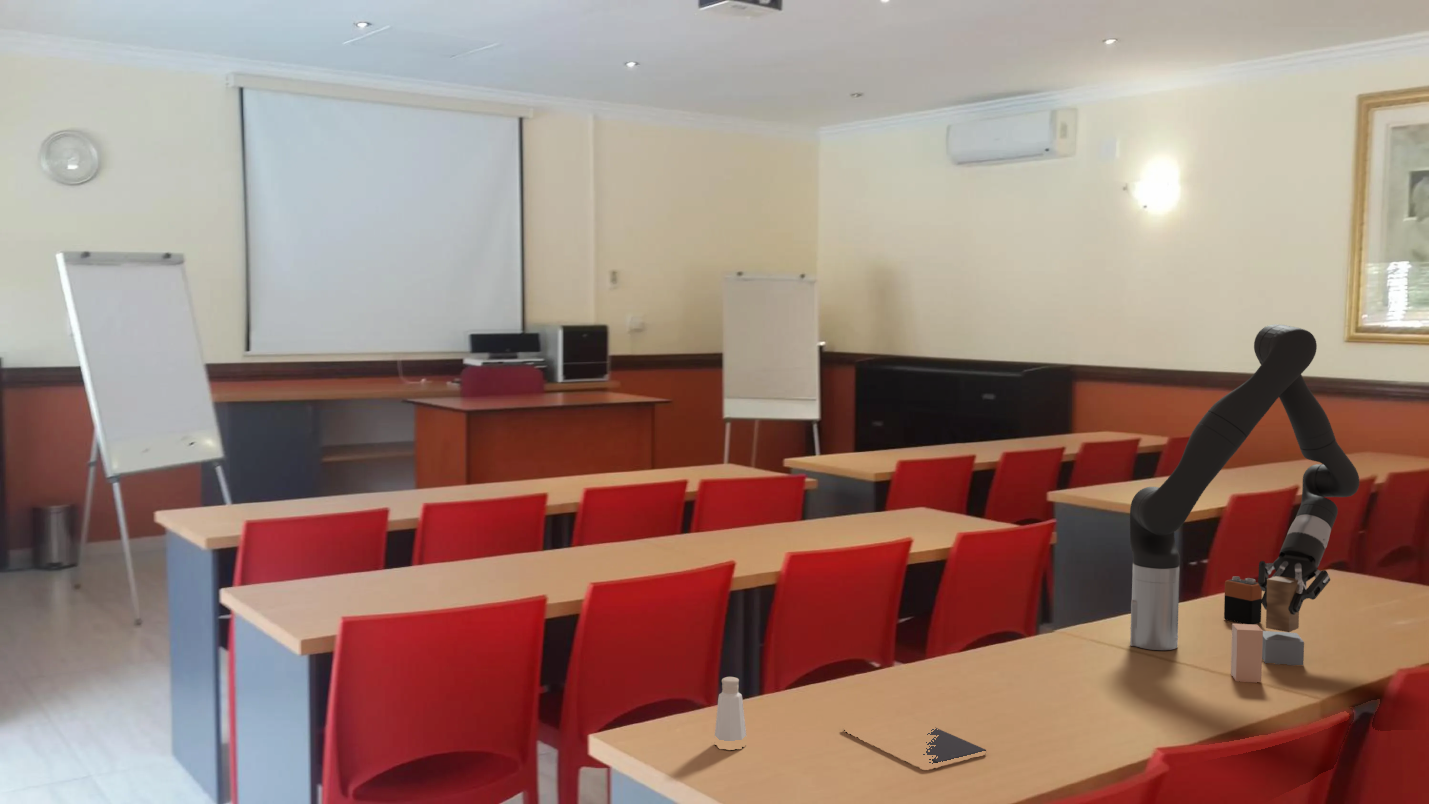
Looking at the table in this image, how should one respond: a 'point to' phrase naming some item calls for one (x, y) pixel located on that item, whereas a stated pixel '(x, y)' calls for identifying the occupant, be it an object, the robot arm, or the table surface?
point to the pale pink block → (1246, 652)
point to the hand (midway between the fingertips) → (1278, 609)
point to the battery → (1242, 601)
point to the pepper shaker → (730, 712)
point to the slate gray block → (1282, 648)
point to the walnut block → (1281, 604)
